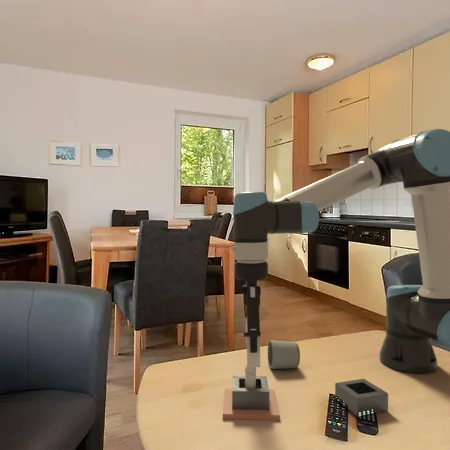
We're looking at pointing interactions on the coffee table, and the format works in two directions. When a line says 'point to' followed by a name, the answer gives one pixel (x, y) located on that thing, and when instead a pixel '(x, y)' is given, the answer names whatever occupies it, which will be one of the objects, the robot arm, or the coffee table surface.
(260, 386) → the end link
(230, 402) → the brown base with peg
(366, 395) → the grey square hollow block
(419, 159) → the robot arm
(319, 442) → the coffee table surface
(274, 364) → the ceramic mug
